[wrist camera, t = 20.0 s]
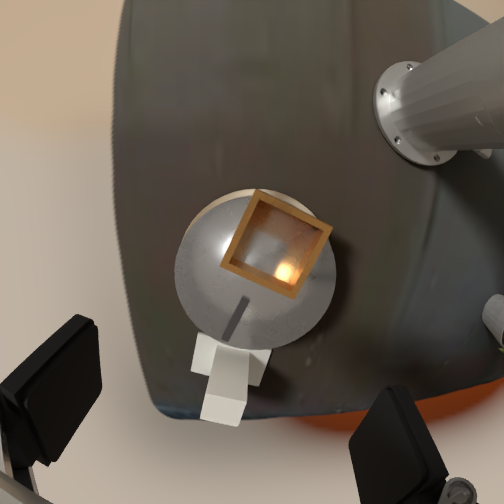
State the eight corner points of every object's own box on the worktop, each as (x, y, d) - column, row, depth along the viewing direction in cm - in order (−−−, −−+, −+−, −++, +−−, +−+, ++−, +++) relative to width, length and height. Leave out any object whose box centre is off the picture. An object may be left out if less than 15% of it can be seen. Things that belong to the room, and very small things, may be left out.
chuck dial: (286, 353, 32) (290, 380, 28) (163, 300, 31) (147, 321, 26) (354, 236, 29) (372, 248, 24) (218, 169, 28) (209, 168, 23)
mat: (271, 348, 35) (271, 350, 34) (258, 384, 36) (258, 386, 36) (198, 331, 34) (197, 333, 34) (191, 369, 36) (190, 370, 36)
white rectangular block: (217, 344, 34) (205, 393, 26) (249, 352, 35) (246, 401, 26) (211, 369, 35) (199, 418, 27) (242, 376, 36) (237, 426, 27)
